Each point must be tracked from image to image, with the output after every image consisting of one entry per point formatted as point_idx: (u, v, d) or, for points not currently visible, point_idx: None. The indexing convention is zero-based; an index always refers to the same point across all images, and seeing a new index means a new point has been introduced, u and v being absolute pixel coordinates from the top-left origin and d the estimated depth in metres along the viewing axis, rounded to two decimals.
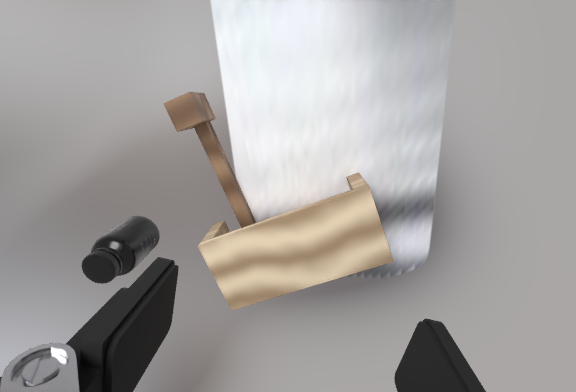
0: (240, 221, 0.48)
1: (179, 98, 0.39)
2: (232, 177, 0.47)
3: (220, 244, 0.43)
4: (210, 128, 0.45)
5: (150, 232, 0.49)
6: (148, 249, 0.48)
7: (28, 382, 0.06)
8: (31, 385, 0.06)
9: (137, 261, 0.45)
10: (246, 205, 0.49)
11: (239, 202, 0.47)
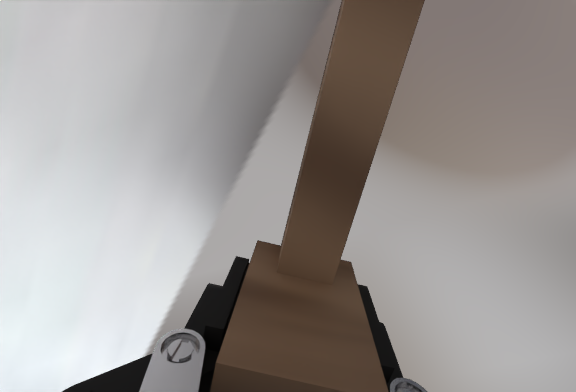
0: None
1: None
2: None
3: None
4: (285, 234, 0.11)
5: None
6: None
7: (170, 357, 0.07)
8: (171, 360, 0.07)
9: None
10: None
11: None
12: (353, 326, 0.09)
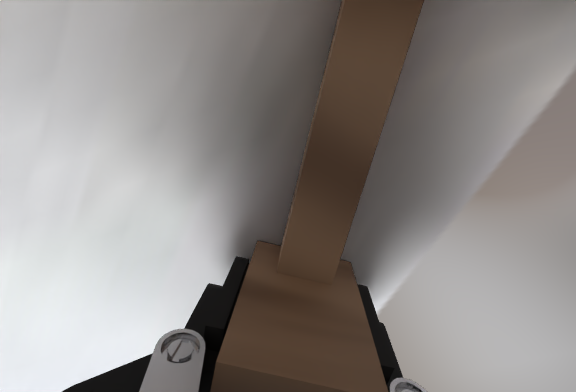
0: None
1: None
2: None
3: None
4: (284, 234, 0.11)
5: None
6: None
7: (170, 357, 0.07)
8: (171, 361, 0.07)
9: None
10: None
11: None
12: (353, 326, 0.09)
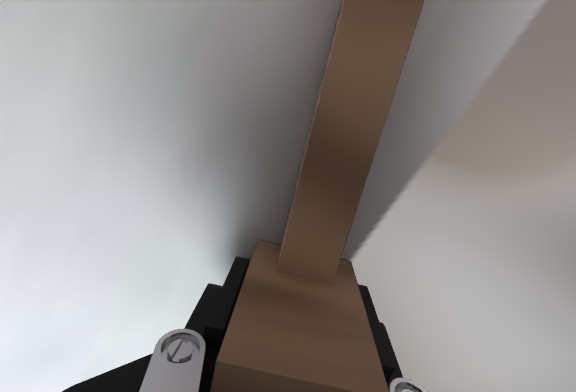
0: None
1: None
2: None
3: None
4: (285, 234, 0.11)
5: None
6: None
7: (170, 357, 0.07)
8: (171, 361, 0.07)
9: None
10: None
11: None
12: (353, 325, 0.09)
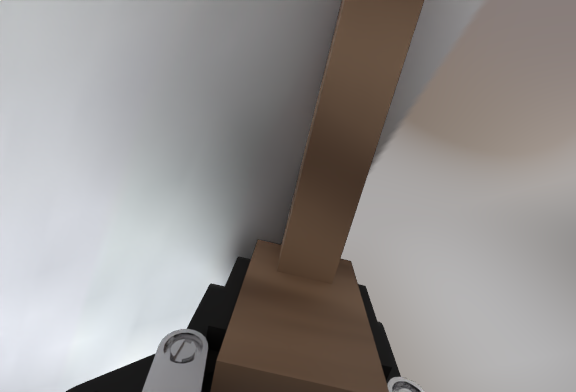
0: None
1: None
2: None
3: None
4: (285, 233, 0.11)
5: None
6: None
7: (173, 357, 0.07)
8: (174, 361, 0.07)
9: None
10: None
11: None
12: (353, 324, 0.09)
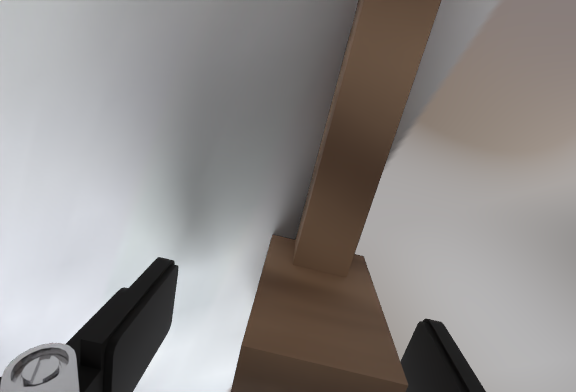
0: None
1: None
2: None
3: None
4: (300, 228, 0.11)
5: None
6: None
7: (28, 382, 0.06)
8: (31, 385, 0.06)
9: None
10: None
11: None
12: (369, 316, 0.09)
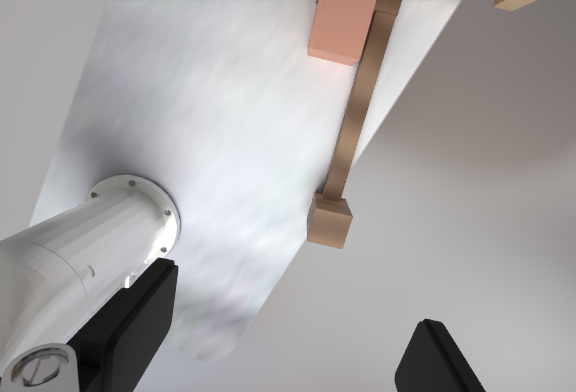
0: (381, 53, 0.30)
1: (321, 242, 0.32)
2: (344, 119, 0.33)
3: None
4: (325, 188, 0.35)
5: None
6: None
7: (28, 382, 0.06)
8: (31, 385, 0.06)
9: None
10: (357, 70, 0.32)
11: (361, 81, 0.31)
12: (345, 208, 0.33)
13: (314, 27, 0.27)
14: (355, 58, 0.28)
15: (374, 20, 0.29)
